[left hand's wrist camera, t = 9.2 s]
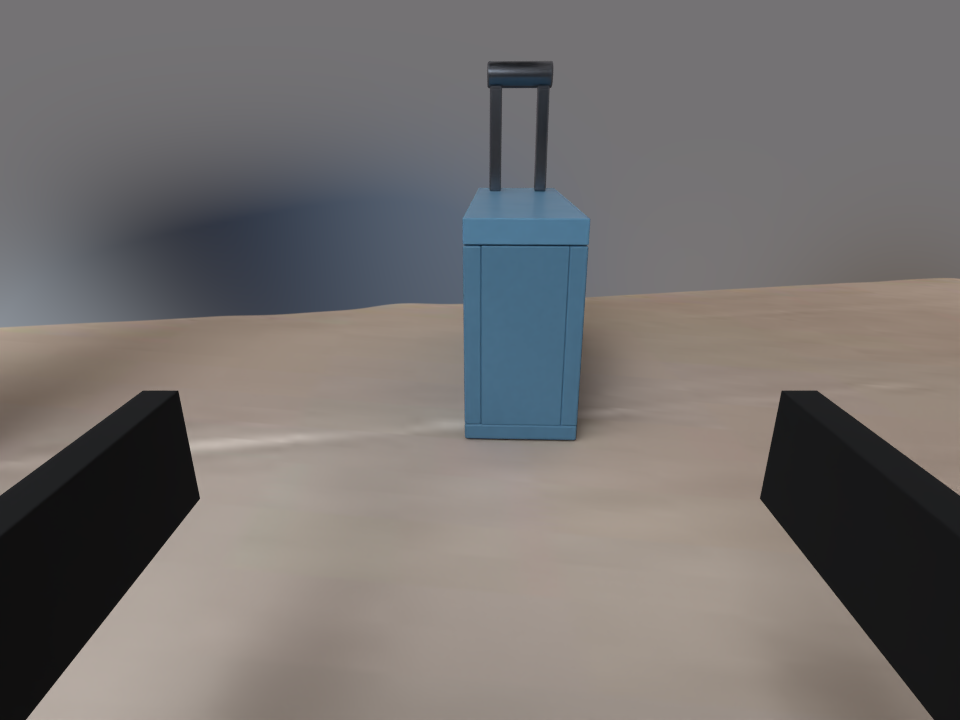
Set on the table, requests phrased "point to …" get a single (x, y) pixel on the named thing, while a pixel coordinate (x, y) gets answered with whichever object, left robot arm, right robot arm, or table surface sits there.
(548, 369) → the chest
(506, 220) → the lid
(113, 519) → the left robot arm
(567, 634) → the table surface
